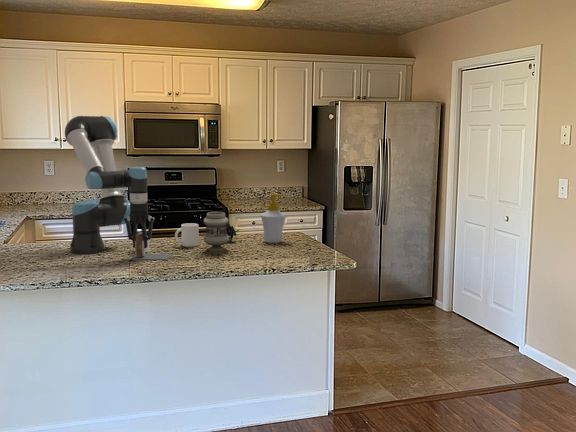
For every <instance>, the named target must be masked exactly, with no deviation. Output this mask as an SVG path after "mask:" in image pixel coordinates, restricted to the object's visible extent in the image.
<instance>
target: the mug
mask: <svg viewBox="0 0 576 432" xmlns="http://www.w3.org/2000/svg"><path fill="white" fill-rule="evenodd" d="M180 232H181V236H180V237H181V240H180V239H179V238H178V235H179V233H180ZM199 235H200V234H199V224H198V223H192V222H191V223H190V222H189V223H187V222H186V223H182V224H181V227H180V228H178V229H177V230H176V231H175V232H174V239H175V241H176V242H177V243H179V244H181V245H182V247H187V248H193V247H198V246H199V245H200V241H199V239H200V237H199Z"/></svg>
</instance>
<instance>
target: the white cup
mask: <svg viewBox="0 0 576 432" xmlns="http://www.w3.org/2000/svg"><path fill="white" fill-rule="evenodd" d="M147 237H148V235H147ZM150 241H151V239H150V240H147V248H145V252H146V253H149V252H150Z"/></svg>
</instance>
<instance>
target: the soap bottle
mask: <svg viewBox="0 0 576 432" xmlns="http://www.w3.org/2000/svg"><path fill="white" fill-rule="evenodd" d="M268 195H269V196H270V199H271V201H270V202H269V205H267V210H266V211H265V212H263V213H261V214H260V219H261V221H262V227H263V241H264V242H265V243H268V244H278V243H281V242H282V240H283V228H284V223H285V219H286V217H287V216H286V214H285V213H283V212H281V211H280V210H279V205H278V204H277V201H275V200H276V198H277V197H281V196H285V193H268Z"/></svg>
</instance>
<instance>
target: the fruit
mask: <svg viewBox="0 0 576 432" xmlns="http://www.w3.org/2000/svg"><path fill="white" fill-rule="evenodd" d="M226 231H227V235H228V236H229V238H230V239H229V241H231V242H232V241H233V238H234V237H237V236H238V235H237V232H239V231H240V229H237V230H235V228H234V225H231V224H230V223H228V224H227V225H226Z"/></svg>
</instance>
